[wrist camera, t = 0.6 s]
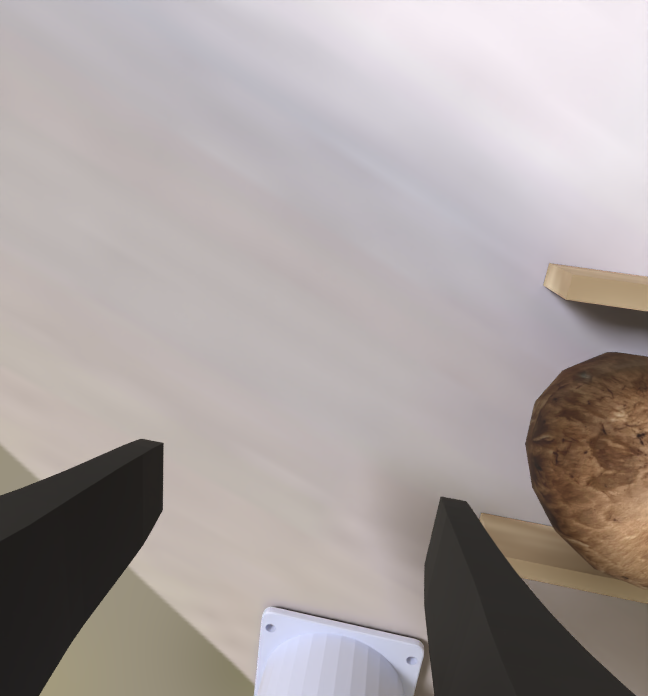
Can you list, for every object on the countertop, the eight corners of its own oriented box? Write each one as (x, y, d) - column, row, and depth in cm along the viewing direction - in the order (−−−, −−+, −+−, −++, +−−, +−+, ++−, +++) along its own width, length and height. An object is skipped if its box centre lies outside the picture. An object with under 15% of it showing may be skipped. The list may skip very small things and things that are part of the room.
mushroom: (589, 626, 18) (728, 687, 12) (449, 448, 20) (507, 423, 14) (728, 495, 19) (913, 490, 13) (586, 342, 21) (691, 279, 15)
